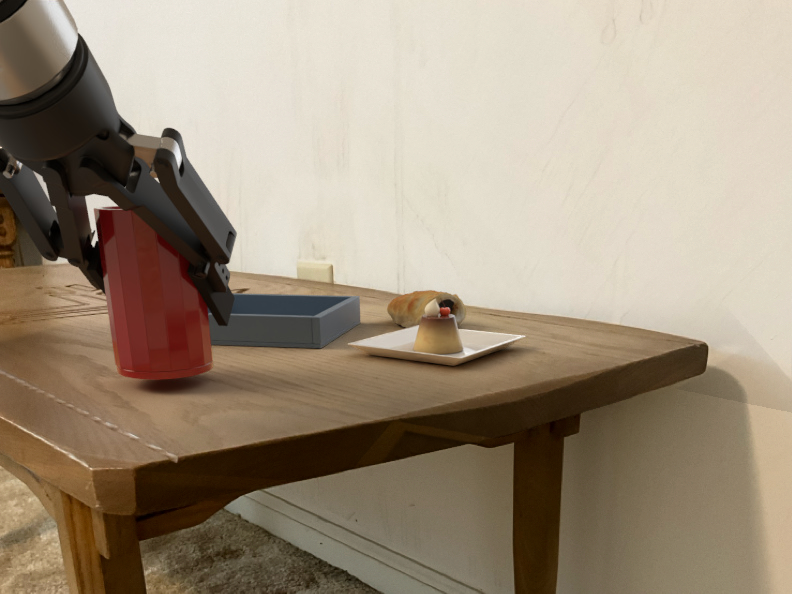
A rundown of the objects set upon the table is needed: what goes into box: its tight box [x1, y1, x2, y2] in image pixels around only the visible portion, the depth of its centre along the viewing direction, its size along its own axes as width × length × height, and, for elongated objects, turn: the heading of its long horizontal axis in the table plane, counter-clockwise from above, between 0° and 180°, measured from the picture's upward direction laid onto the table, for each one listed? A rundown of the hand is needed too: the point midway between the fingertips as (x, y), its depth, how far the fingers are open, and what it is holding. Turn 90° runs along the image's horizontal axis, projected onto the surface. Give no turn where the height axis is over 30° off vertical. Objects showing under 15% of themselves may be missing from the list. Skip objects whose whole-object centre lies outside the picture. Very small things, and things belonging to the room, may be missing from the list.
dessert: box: [347, 299, 526, 367], centre depth 77 cm, size 12×12×5 cm
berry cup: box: [93, 205, 214, 381], centre depth 65 cm, size 7×7×12 cm
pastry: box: [386, 289, 467, 329], centre depth 92 cm, size 9×7×4 cm
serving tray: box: [208, 292, 361, 349], centre depth 88 cm, size 18×15×3 cm
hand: (179, 309), depth 69 cm, fingers closed on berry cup, 7 cm apart
